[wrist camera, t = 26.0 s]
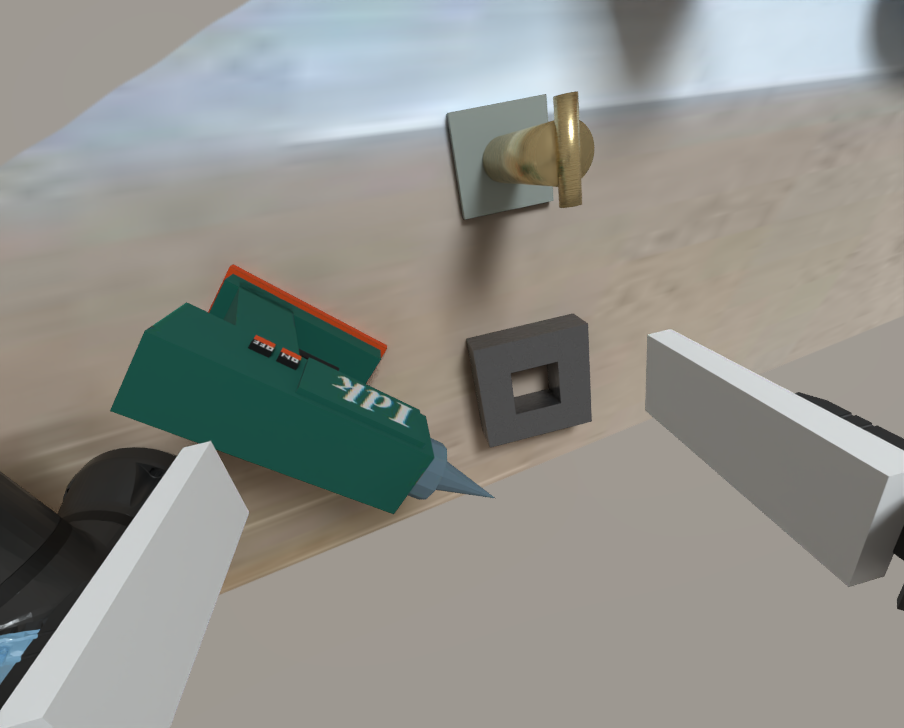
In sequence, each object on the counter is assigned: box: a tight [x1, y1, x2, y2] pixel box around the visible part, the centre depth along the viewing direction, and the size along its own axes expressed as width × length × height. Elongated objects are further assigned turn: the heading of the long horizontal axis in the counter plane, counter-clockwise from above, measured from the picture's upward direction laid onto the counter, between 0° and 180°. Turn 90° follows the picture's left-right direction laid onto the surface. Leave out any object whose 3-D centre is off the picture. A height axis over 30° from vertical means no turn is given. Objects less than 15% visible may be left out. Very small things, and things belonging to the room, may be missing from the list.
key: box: [483, 91, 594, 208], centre depth 36 cm, size 4×7×16 cm, turn 10°
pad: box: [447, 94, 553, 219], centre depth 43 cm, size 10×10×1 cm
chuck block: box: [466, 314, 592, 447], centre depth 53 cm, size 14×14×4 cm
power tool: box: [110, 265, 494, 514], centre depth 41 cm, size 32×7×20 cm, turn 56°
